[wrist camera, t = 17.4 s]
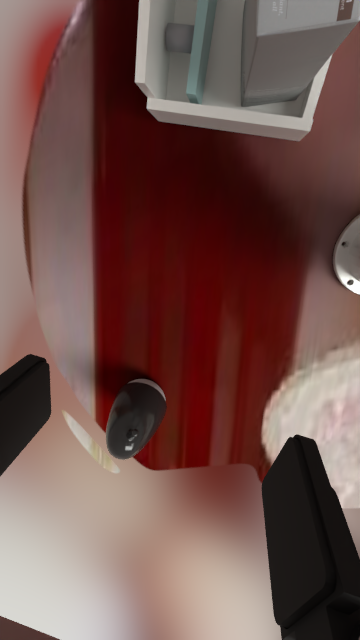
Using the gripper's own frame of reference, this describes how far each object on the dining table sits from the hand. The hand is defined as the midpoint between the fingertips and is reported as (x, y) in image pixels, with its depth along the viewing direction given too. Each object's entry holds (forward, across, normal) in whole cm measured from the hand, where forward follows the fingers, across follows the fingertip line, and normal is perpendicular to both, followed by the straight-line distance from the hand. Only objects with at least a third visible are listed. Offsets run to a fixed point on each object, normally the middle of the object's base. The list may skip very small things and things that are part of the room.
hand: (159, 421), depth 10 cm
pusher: (+32, +9, -22) cm, 39 cm away
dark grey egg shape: (+33, +6, +30) cm, 45 cm away
